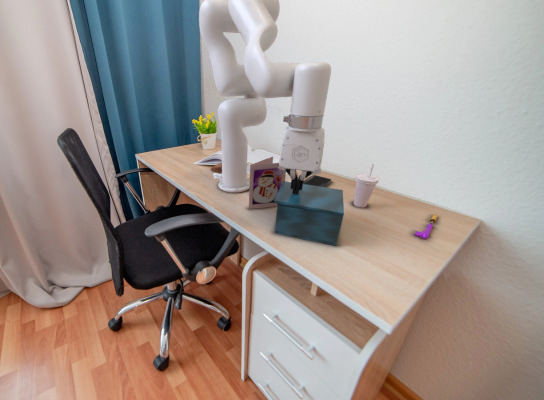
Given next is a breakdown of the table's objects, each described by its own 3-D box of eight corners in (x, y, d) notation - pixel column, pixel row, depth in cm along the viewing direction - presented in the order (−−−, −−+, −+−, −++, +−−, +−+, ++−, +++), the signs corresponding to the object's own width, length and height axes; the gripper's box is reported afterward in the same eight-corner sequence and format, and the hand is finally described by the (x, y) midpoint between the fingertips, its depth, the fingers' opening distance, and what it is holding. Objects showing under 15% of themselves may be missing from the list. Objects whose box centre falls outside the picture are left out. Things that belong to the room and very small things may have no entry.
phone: (296, 185, 90) (313, 174, 100) (295, 188, 91) (313, 177, 100) (316, 191, 85) (332, 179, 95) (315, 194, 86) (332, 181, 96)
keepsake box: (274, 233, 66) (277, 205, 62) (283, 209, 77) (286, 184, 73) (336, 246, 61) (343, 216, 56) (336, 219, 72) (342, 192, 68)
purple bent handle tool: (427, 240, 61) (438, 217, 71) (427, 236, 61) (438, 213, 71) (414, 237, 63) (426, 215, 73) (414, 233, 63) (426, 212, 73)
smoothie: (373, 210, 76) (386, 168, 69) (351, 208, 77) (362, 167, 70) (367, 201, 81) (378, 161, 75) (347, 199, 82) (356, 160, 76)
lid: (273, 203, 62) (274, 200, 62) (283, 183, 73) (283, 180, 73) (343, 216, 56) (344, 213, 56) (342, 192, 68) (342, 189, 67)
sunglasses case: (233, 159, 122) (239, 149, 118) (243, 168, 121) (249, 158, 116) (209, 169, 110) (214, 158, 106) (219, 179, 109) (225, 169, 104)
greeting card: (249, 210, 77) (251, 165, 70) (244, 199, 84) (245, 158, 77) (283, 206, 79) (288, 163, 72) (275, 196, 85) (279, 155, 78)
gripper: (270, 123, 57) (265, 193, 65) (340, 127, 51) (324, 202, 60) (277, 118, 63) (271, 182, 71) (339, 121, 58) (325, 190, 66)
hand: (295, 191), depth 66 cm, fingers closed
